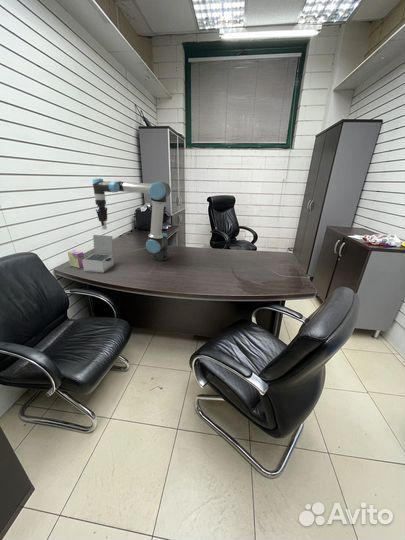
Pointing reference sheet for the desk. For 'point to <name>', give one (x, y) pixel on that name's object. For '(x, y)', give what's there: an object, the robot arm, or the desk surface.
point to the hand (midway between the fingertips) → (104, 229)
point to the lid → (103, 244)
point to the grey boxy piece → (98, 263)
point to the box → (76, 258)
